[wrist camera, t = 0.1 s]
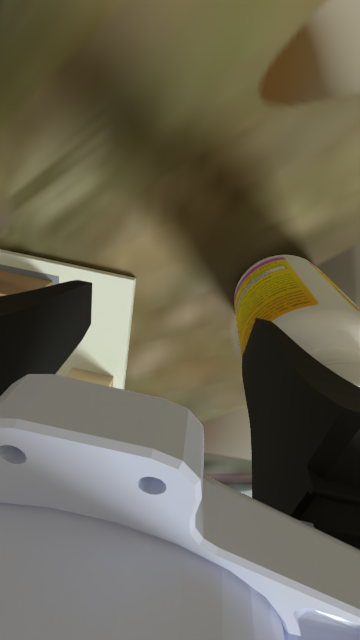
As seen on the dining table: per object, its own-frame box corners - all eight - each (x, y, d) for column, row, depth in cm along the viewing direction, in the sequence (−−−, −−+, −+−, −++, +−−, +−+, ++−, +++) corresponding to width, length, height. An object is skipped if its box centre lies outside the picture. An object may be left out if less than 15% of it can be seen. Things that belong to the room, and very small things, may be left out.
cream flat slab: (121, 417, 30) (119, 422, 29) (11, 393, 30) (7, 398, 30) (136, 277, 22) (134, 280, 22) (-12, 246, 22) (-18, 248, 22)
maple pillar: (111, 406, 28) (92, 449, 24) (72, 398, 28) (46, 439, 24) (113, 376, 27) (93, 417, 22) (72, 367, 27) (44, 406, 22)
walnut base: (55, 333, 25) (32, 356, 22) (0, 321, 25) (-30, 343, 22) (52, 281, 22) (27, 299, 19) (-8, 268, 22) (-44, 284, 19)
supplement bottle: (222, 321, 23) (229, 465, 12) (249, 242, 20) (293, 337, 9) (301, 340, 23) (382, 503, 12) (340, 265, 20) (502, 389, 9)
